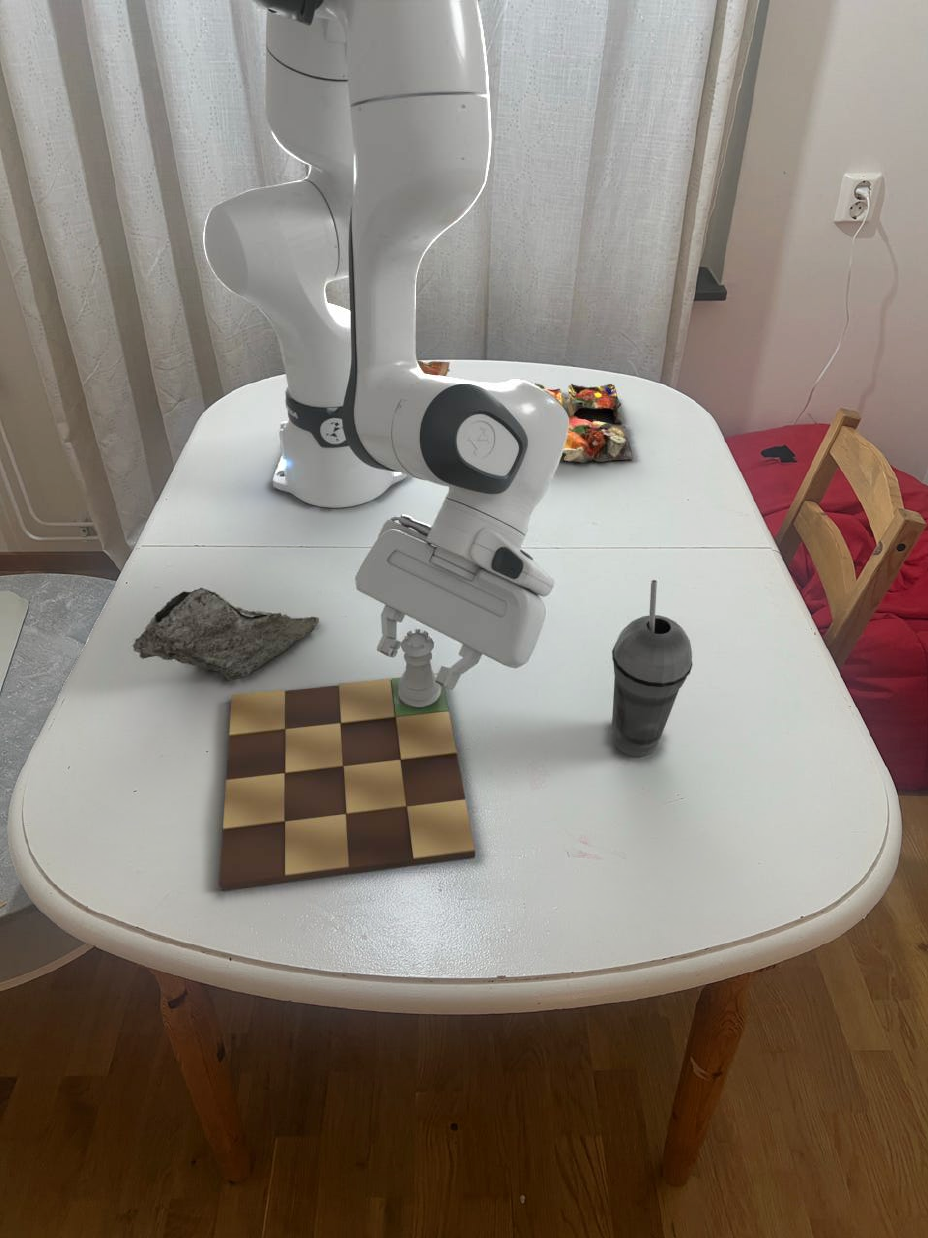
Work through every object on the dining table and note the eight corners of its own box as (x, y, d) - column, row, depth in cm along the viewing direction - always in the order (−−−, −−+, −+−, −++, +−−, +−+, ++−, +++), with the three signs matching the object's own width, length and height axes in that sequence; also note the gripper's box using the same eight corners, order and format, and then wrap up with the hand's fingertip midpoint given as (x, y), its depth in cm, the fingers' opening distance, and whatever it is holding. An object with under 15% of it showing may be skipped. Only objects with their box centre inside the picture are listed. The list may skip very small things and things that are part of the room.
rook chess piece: (435, 713, 86) (434, 656, 81) (393, 706, 87) (388, 650, 82) (445, 682, 90) (444, 625, 84) (404, 675, 90) (400, 619, 85)
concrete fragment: (327, 633, 97) (316, 556, 90) (171, 717, 87) (145, 639, 80) (296, 605, 100) (284, 529, 93) (143, 683, 91) (116, 606, 83)
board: (233, 702, 89) (231, 694, 88) (442, 680, 91) (442, 672, 91) (221, 891, 73) (218, 883, 72) (475, 857, 75) (475, 850, 74)
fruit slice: (451, 380, 144) (451, 352, 140) (447, 399, 139) (447, 370, 135) (402, 378, 144) (401, 350, 141) (396, 397, 139) (395, 368, 136)
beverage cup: (654, 780, 82) (692, 626, 68) (585, 748, 85) (609, 594, 71) (682, 730, 86) (723, 577, 73) (616, 702, 89) (644, 549, 76)
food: (634, 466, 124) (638, 445, 121) (506, 465, 124) (507, 443, 122) (616, 395, 140) (619, 374, 138) (503, 394, 140) (503, 373, 138)
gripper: (376, 500, 86) (320, 623, 87) (548, 576, 77) (483, 713, 78) (406, 516, 92) (353, 632, 93) (569, 588, 83) (508, 716, 84)
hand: (413, 670), depth 85 cm, fingers open, 6 cm apart
